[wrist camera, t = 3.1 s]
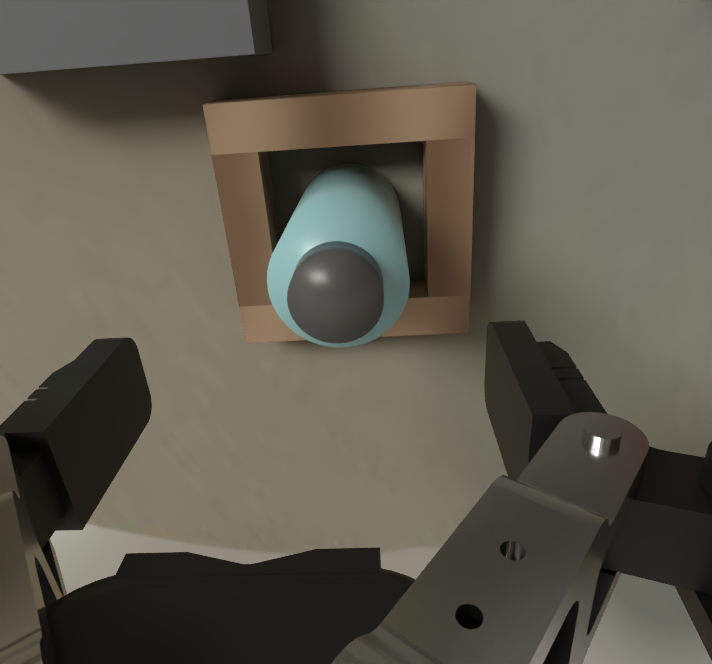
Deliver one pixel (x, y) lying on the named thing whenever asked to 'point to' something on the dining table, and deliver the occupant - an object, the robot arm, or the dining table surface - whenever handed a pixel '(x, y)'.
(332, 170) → the teal capped bottle
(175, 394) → the dining table surface
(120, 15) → the port
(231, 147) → the square wooden frame
